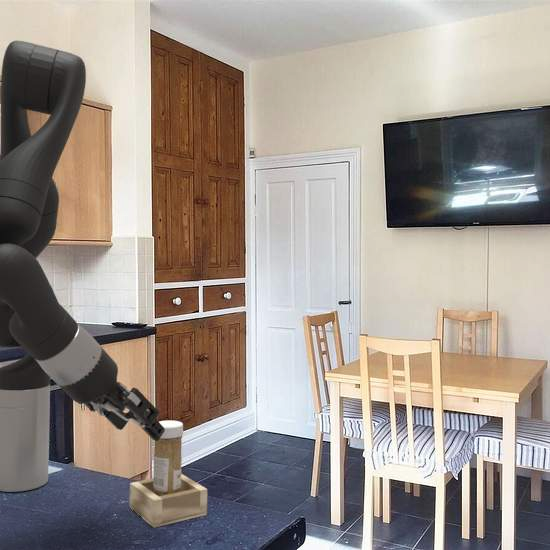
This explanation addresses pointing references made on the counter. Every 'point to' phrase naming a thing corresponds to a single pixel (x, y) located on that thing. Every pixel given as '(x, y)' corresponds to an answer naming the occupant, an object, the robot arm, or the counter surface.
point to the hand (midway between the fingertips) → (141, 429)
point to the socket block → (168, 502)
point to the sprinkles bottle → (168, 459)
